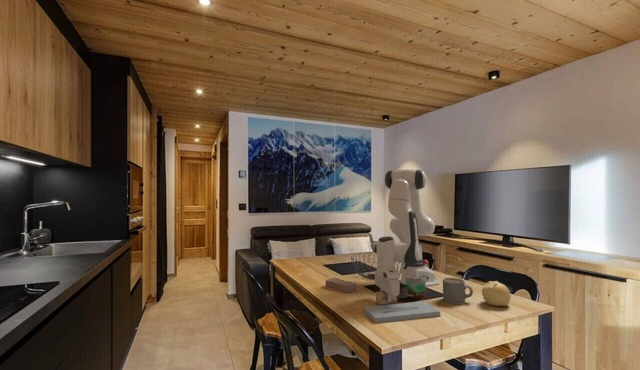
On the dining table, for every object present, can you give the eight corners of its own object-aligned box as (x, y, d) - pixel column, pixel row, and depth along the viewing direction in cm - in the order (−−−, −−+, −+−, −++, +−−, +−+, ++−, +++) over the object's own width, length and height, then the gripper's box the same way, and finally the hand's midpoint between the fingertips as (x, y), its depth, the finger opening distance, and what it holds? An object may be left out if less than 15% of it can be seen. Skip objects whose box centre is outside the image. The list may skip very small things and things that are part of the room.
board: (423, 305, 149) (423, 301, 149) (440, 316, 136) (440, 311, 136) (363, 311, 142) (363, 306, 142) (375, 322, 129) (375, 317, 129)
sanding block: (392, 300, 156) (392, 290, 156) (396, 303, 151) (396, 293, 151) (375, 302, 154) (375, 292, 154) (379, 305, 149) (379, 294, 149)
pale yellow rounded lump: (483, 298, 159) (483, 277, 159) (511, 303, 152) (511, 280, 152) (480, 305, 149) (479, 282, 150) (509, 310, 142) (509, 286, 143)
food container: (414, 300, 155) (414, 280, 156) (405, 297, 161) (405, 277, 161) (432, 297, 161) (432, 277, 161) (423, 293, 167) (423, 274, 167)
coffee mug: (441, 301, 154) (440, 281, 155) (445, 296, 163) (445, 276, 163) (471, 306, 147) (470, 285, 147) (474, 300, 155) (473, 280, 156)
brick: (357, 290, 174) (357, 281, 174) (348, 294, 168) (348, 285, 168) (334, 284, 185) (334, 276, 185) (324, 288, 179) (324, 279, 179)
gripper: (371, 266, 162) (371, 293, 162) (389, 276, 142) (389, 307, 142) (382, 265, 164) (383, 292, 163) (402, 275, 144) (402, 306, 143)
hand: (386, 299), depth 153 cm, fingers closed on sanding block, 4 cm apart
